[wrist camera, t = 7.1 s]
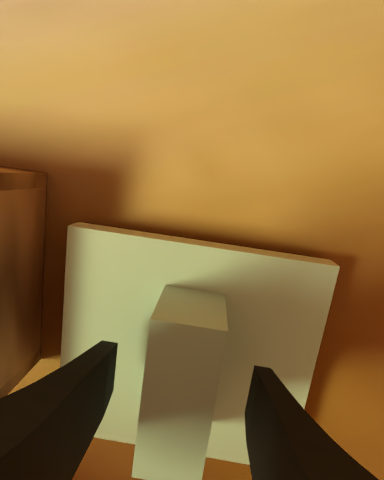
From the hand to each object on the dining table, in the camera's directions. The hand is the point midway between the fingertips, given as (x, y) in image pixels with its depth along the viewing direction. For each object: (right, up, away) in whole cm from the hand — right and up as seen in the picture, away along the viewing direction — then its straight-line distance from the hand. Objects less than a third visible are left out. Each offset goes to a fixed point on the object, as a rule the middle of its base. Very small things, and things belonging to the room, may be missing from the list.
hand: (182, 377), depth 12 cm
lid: (0, 0, +3) cm, 3 cm away
